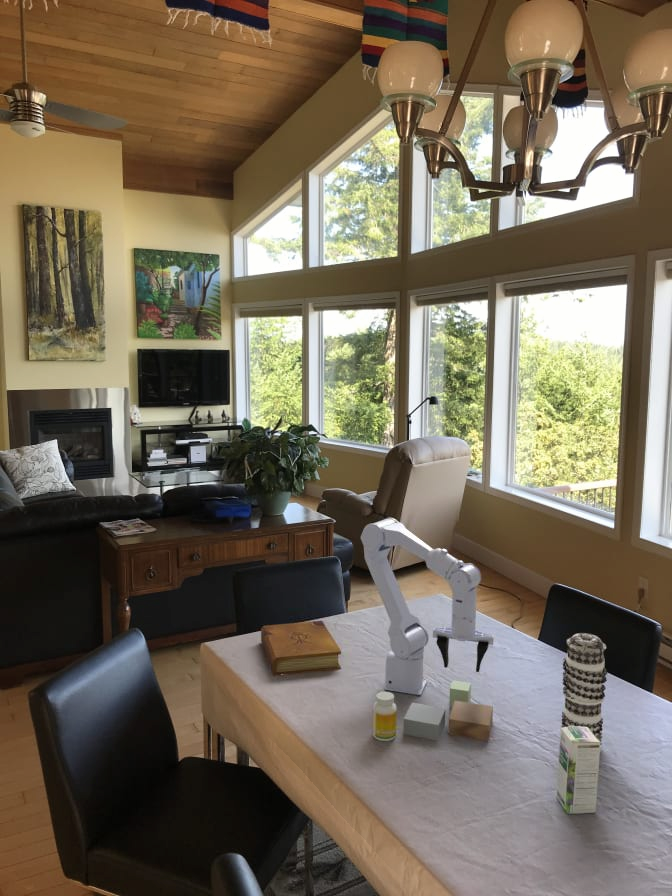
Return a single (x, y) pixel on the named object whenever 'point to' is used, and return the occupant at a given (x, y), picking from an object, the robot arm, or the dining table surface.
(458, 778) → the dining table surface
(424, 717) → the slate block
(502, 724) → the dining table surface
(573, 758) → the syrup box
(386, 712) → the supplement bottle
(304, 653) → the diary
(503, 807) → the dining table surface
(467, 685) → the sage block
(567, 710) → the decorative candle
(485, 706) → the walnut block
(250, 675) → the dining table surface
